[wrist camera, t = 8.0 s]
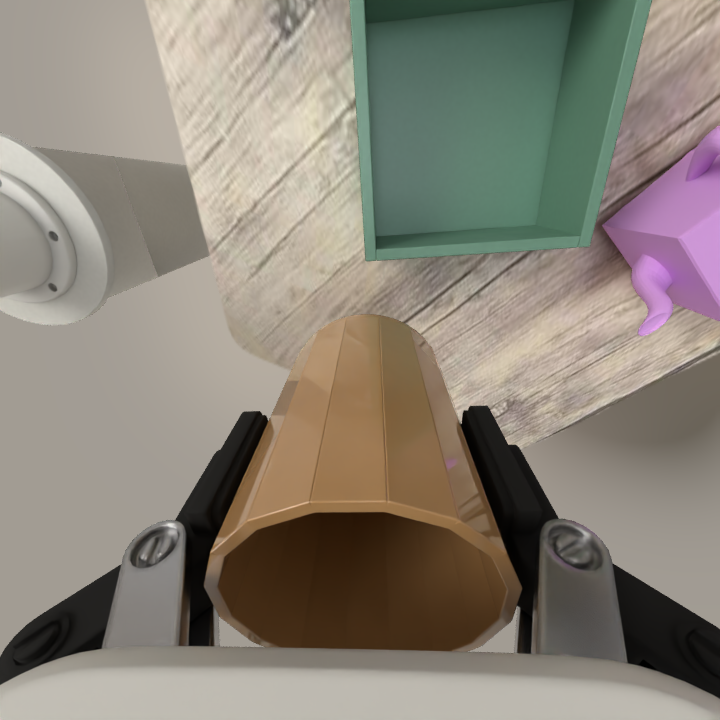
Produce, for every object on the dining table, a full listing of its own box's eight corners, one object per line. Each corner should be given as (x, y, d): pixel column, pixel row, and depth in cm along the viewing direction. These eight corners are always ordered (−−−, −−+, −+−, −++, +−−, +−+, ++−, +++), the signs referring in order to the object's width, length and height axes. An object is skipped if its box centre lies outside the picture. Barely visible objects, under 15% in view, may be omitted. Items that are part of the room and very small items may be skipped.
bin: (367, 244, 30) (365, 261, 23) (354, 15, 23) (345, -59, 16) (539, 232, 29) (589, 246, 22) (583, -13, 22) (679, -105, 15)
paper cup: (306, 437, 17) (245, 666, 9) (284, 317, 13) (158, 502, 6) (435, 434, 16) (495, 672, 8) (444, 310, 13) (553, 499, 5)
